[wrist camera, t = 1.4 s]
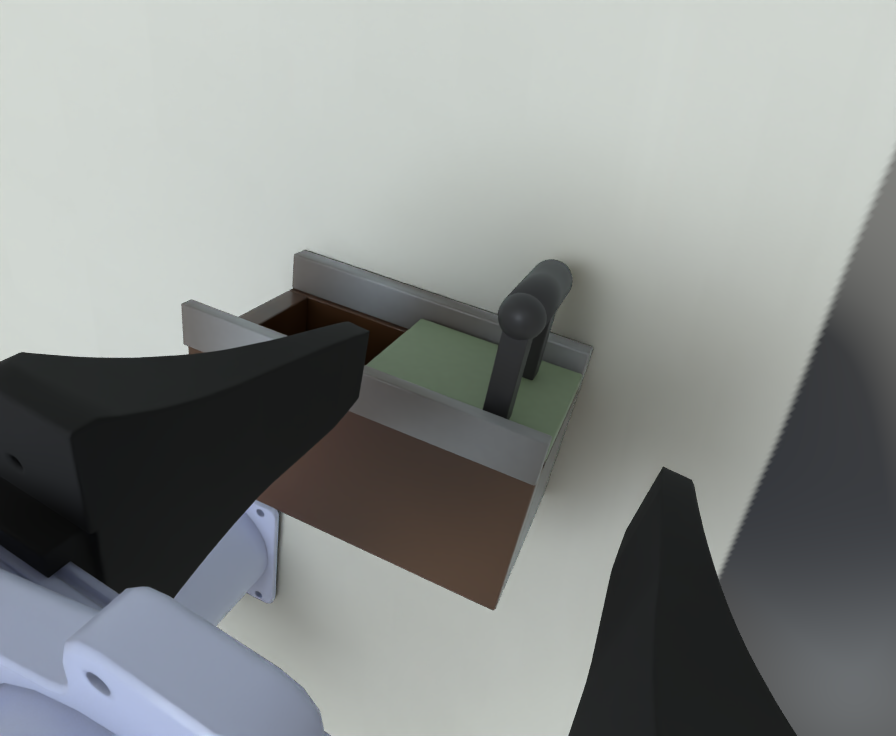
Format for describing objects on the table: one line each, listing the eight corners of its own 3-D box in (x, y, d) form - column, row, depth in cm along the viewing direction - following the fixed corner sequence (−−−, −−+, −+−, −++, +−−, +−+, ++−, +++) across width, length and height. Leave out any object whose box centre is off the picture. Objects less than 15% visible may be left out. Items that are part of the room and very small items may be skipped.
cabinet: (295, 393, 30) (190, 474, 24) (304, 249, 26) (180, 303, 20) (543, 494, 27) (492, 616, 21) (594, 346, 23) (549, 444, 17)
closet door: (419, 330, 24) (349, 391, 20) (439, 212, 22) (364, 251, 17) (578, 387, 23) (542, 467, 18) (619, 266, 20) (589, 324, 16)
